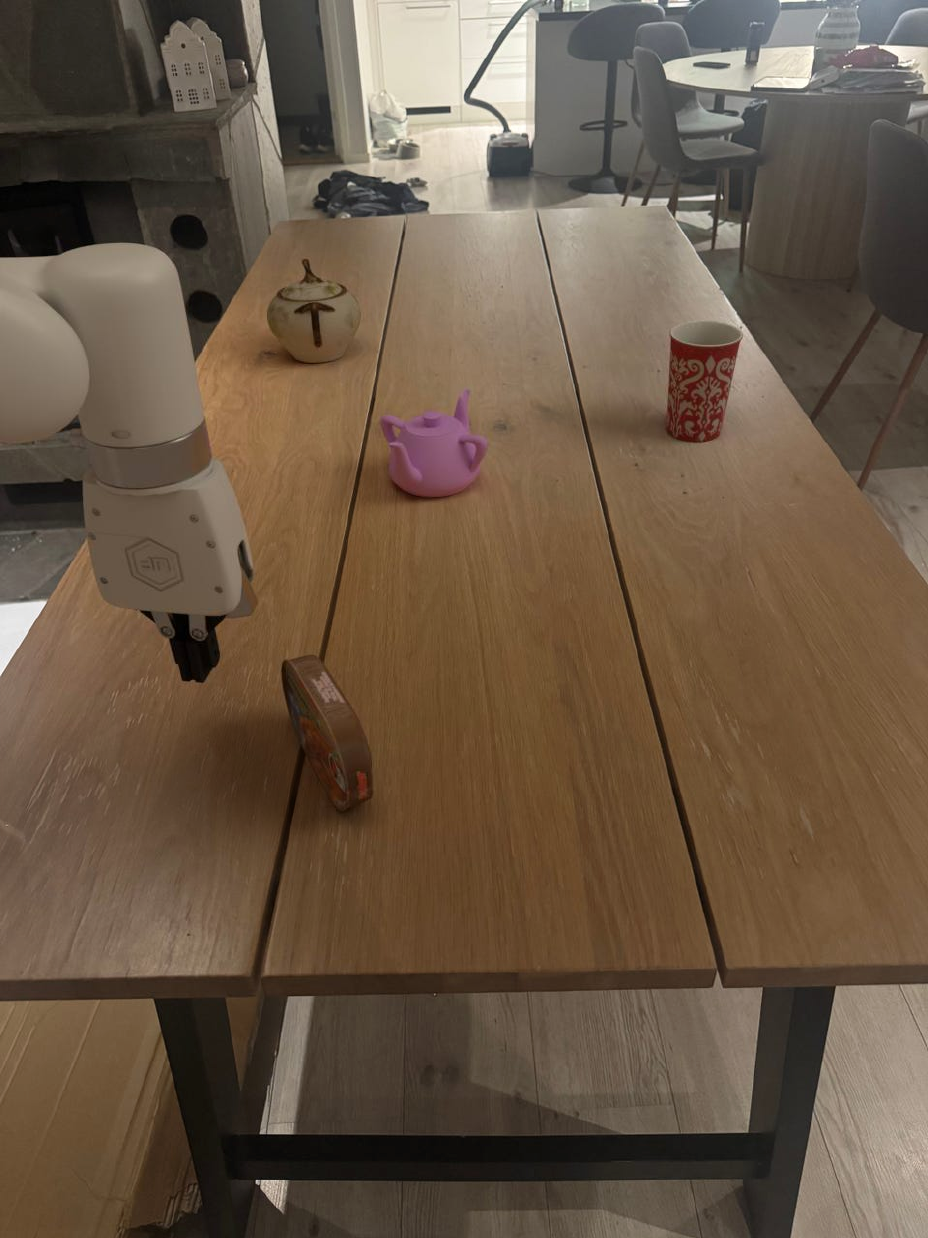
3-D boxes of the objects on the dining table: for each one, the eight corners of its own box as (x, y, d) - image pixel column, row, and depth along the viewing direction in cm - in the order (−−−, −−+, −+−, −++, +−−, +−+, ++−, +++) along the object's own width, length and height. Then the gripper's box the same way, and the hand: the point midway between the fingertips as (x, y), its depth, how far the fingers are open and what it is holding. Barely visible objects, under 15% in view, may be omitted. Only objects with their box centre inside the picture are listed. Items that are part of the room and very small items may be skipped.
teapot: (394, 510, 110) (388, 442, 105) (382, 459, 121) (375, 395, 116) (492, 498, 112) (491, 431, 106) (471, 448, 123) (469, 385, 117)
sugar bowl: (273, 338, 160) (258, 247, 151) (359, 329, 161) (350, 239, 152) (274, 381, 144) (258, 282, 135) (370, 371, 146) (360, 273, 137)
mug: (737, 443, 121) (752, 342, 113) (668, 447, 121) (679, 346, 113) (711, 404, 131) (723, 309, 123) (647, 408, 131) (655, 312, 123)
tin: (285, 717, 82) (270, 642, 77) (319, 705, 83) (306, 630, 78) (348, 834, 71) (334, 755, 66) (385, 818, 72) (375, 740, 67)
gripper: (12, 469, 58) (85, 693, 69) (240, 483, 56) (279, 712, 67) (71, 420, 64) (130, 634, 75) (279, 432, 62) (309, 649, 73)
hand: (200, 670), depth 71 cm, fingers closed
